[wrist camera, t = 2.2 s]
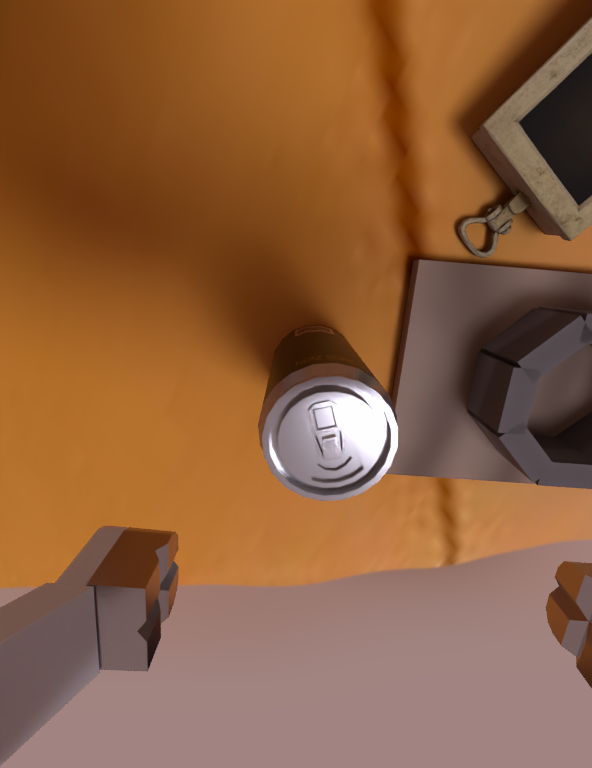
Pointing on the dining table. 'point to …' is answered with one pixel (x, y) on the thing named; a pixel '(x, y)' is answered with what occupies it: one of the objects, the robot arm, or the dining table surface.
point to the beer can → (325, 417)
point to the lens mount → (495, 375)
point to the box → (544, 146)
